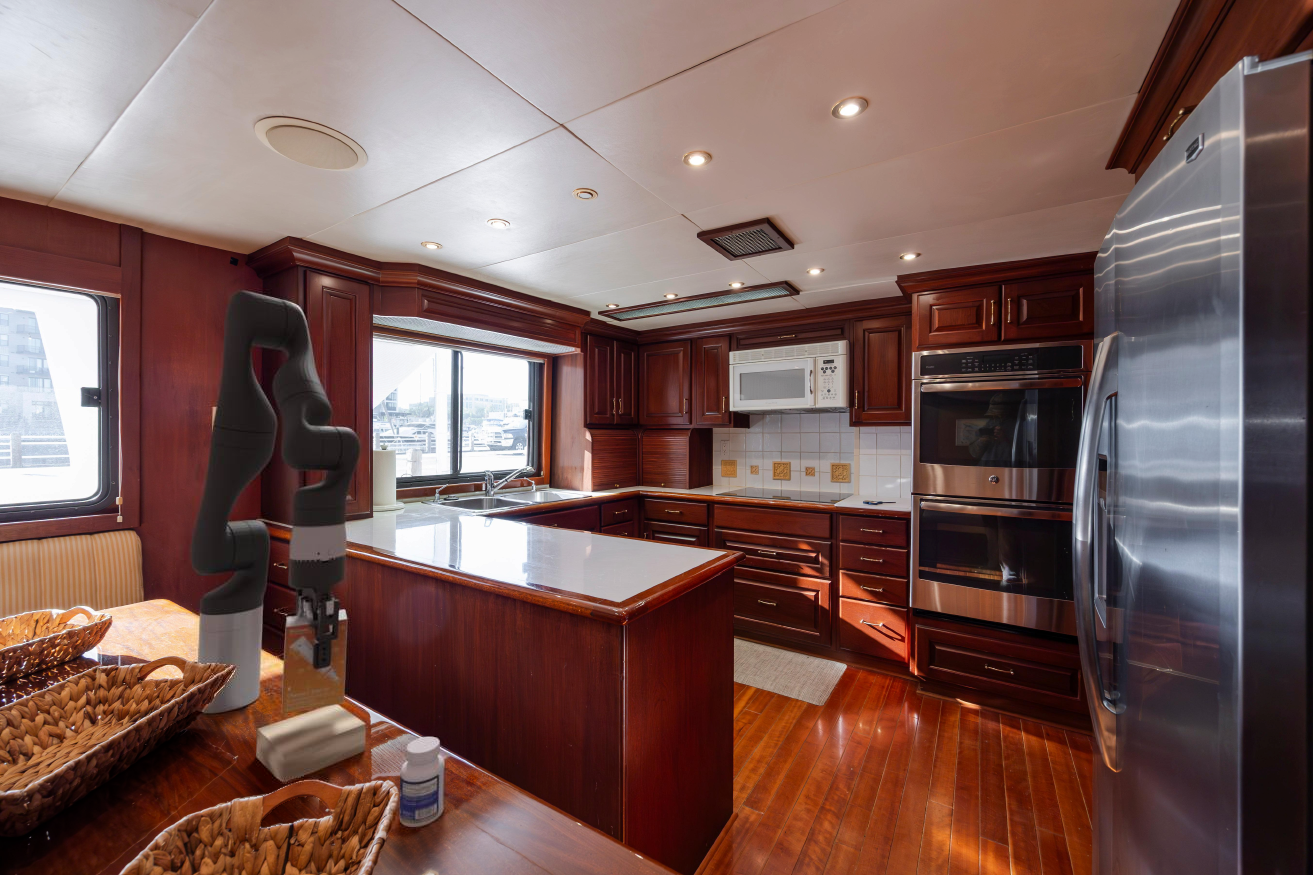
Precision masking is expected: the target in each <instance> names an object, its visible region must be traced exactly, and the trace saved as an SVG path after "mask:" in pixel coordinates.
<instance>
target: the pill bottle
mask: <svg viewBox="0 0 1313 875" xmlns="http://www.w3.org/2000/svg"><path fill="white" fill-rule="evenodd" d="M405 749H406V751H405V759H406V761H404V763H403V764H402V766H401V768H400V776H399V777H400V778H399V779H400V780H399V816H398V817H399V821H400V823H401V824H402V825H404V826H405V827H409V828H419V827H423V826H427V825H428V824H431V823H433V822H434V821H436V820H438V818H439V817H440V816H441V815H442V813H443V811H444V808H445V777H446V776H445V774H446V773H445V771H446V770H445V768H446V764H445V758H444V757H443V756H442V755H441V754H440V750H441V742H440V739H439V738H438V737H434V736H423V737H419V738H416V739H414V740H412V741H411V742H409V743H408V744H407V746H406V748H405Z"/></svg>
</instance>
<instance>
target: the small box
mask: <svg viewBox="0 0 1313 875" xmlns="http://www.w3.org/2000/svg"><path fill="white" fill-rule="evenodd" d="M285 619H286V621H285V630H284V632H285V633H284V645H283V646H284V650H283V651H284V652H283V669H282V670H283V671H282V687H281V688H282V689H281V690H282V691H281V693H282V694H281V697H282V698H281V716H286V715H290V714H294V713H299V712H303V711H308V710H316V709H319V708H322V707H326V706H331V705H336V704H338V705H342V704H344V703H345V688H346V687H345V686H346V665H347V664H346V663H347V661H346V660H347V641H348V640H347V638H348V616H347V611H346V609H339V623H338V638H337V640H333V641H332V642H331V664H330V666H328V667H325V668H321V669H315V668H314V667H313V644H314V642H313V634H312V630H310V629H309V628H308V623H307V617H306V615H304V616H300V617H299V616H296V615H291V616H286V617H285ZM315 622H318V621H315ZM324 633H328V627H327V626H325V627H324V628H323V634H324Z"/></svg>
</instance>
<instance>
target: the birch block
mask: <svg viewBox="0 0 1313 875" xmlns="http://www.w3.org/2000/svg"><path fill="white" fill-rule="evenodd" d="M366 729H367V724H366V723H365V722H364V721H363V720H361V719H359V717H357V716H355V715H354V714H353V713H351V712H349V711H348V710H346V709H345V708H344V707H342V706H341V705H340V704H336V705H331V706H326V707H320V708H315V709H312V710H311V711H308V712H304V713H301V714H299V715H295V716H292V717H290V718H287V719H283V720H281V721H277V722H275V723H270V724H268V725H264V726H262V727H259V728H257V729H256V730H257V732H256V754H255V755H256V759H258V760H259V761H260V762H261V763H262V765H263V766H265V767H266V769H267V770H268V771H269V772H270V773H271V774H273V776H274V777H275V778H276V779H277V780H278V779H279V780H280V781H282V782H285V781H286V782H287V781H288V780H290V779H294V778H296V777H300V778H302V777H305V776H307V775H309V774H312V773H314V772H317V771H319V770H321V769H325V768H327V767H329V766H332V765H334V764H336V763H338V762H341V761H344V760H346V759H348V758H351V757H353V756H355V755H358V754H361V753H363V752H365V751H366V733H367V731H366ZM306 774H307V775H306ZM304 775H305V776H304ZM301 776H302V777H301ZM279 780H278V781H279ZM280 781H279V782H280Z"/></svg>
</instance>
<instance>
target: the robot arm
mask: <svg viewBox="0 0 1313 875" xmlns="http://www.w3.org/2000/svg"><path fill="white" fill-rule="evenodd" d="M308 326H309V325H308V321H307V319H306V315H305V314H304V311H303V310H302V308H301V306H299V305H298V304H296V303H294V302H291V301H288V300H286V299H280V298H278V297H277V298H276V297H273V296H268V295H265V294H261V293H256V292H252V291H249V290H248V291H247V290H237V291H236V292H234V293H233V294H232V295H231V297H230V299H229V301H228V305H227V309H226V313H225V320H224V331H223V332H224V336H223V351H222V352H223V353H222V367H221V368H222V369H221V377H220V378H221V379H220V385H219V391H218V397H217V402H216V409H215V414H214V419H213V425H212V430H211V435H210V436H211V437H210V444H209V454H208V462H207V464H208V465H207V470H206V477H205V484H204V488H203V494H202V497H201V501H200V505H199V510H198V514H197V517H196V521H195V525H194V529H193V532H192V538H191V543H190V551H189V552H190V554H189V556H190V557H189V558H190V563H191V565H192V566H191V567H192V569H193V570H194V572H195V573H197V574H198V575H201V576H211V575H212V576H213V575H219V574H226V573H233V572H234V574H233V576H232V577H231V578H230V579H229V580H228V581H226V582H225V583H224V584H222V585H220V586H219V587H217V588H214V589H212V590H210V591H208V592H206V593H205V594H204V595H203V596H202V597H201V599H200V603H199V624H198V647H197V648H198V649H197V664H198V663H201V664H207V663H219V664H226V665H236V670H235V672H234V674H233V675H232V677H231V678H230V679H229V681H228V682H227V683H226V684H225V686H224V687H223V688H222V689H221V690H220V691H219V692H218V693H217V694H216V696H215V697H214V700H213V701H212V702H211V703H210V704H209V705H208V706H207V707H206V708H205V710H204V712H203V713H202V714H219V713H225V712H229V711H232V710H236V709H240V708H243V707H245V706H247V705H250V704H252V703H253V702H255V701H256V700H257V699H258V698H259V697H260V688H261V687H260V684H261V668H262V666H261V664H262V638H263V637H262V636H263V613H264V612H263V610H264V597H265V596H264V595H265V593H266V589H267V584H268V583H267V582H268V570H269V563H270V562H269V561H270V553H271V551H270V550H271V537H270V531H269V529H268V527H267V525H266V524H265V523H264V522H263V521H261V520H258V519H249V520H248V519H247V520H234V521H229V519H230V516H231V513H232V511H233V508H234V506H235V504H236V501H237V499H238V498H239V497H240V495H241V494H242V493H243V491H244V490H245V489H246V488H247V487H248V486H249V485H250V483H252V482H253V481H254V479H256V477H257V476H258V475H259V474H260V473H261V472H262V471H263V469H265V467H266V466H267V465H268V464H269V462H270V460H271V458H272V456H273V454H274V448H275V443H276V435H277V430H278V420H277V415H276V413H275V411H274V409H273V406H272V405H271V403H270V401H269V400H268V398H267V396H266V394H265V392H264V391H263V389H262V388H261V385H260V384H259V381H258V380H257V377H256V375H255V372H254V366H253V361H252V360H253V359H252V352H253V351H252V349H253V346H254V347H260V348H266V349H273V350H278V351H279V350H281V351H284V352H285V354H286V355H287V358H286V360H285V361H284V362H283V364H282V365H281V366H280V367H279V369H278V370H277V372H276V374H274V377H273V381H272V394H273V397H274V400H275V403H276V405H277V408H278V411H279V414H280V416H281V420H282V421H281V422H282V438H281V439H282V440H281V447H280V448H281V450H280V453H281V457H282V460H283V462H284V463H285V464H287V466H288V467H289V468H291V469H293V470H294V471H295V470H296V471H299V472H300V471H302V472H303V471H305V472H308V471H311V472H312V471H313V472H314V471H327V473H326V475H325V476H324V479H322V480H321V482H319V483H316V484H313V485H312V484H311V485H308V486H303V487H301V488H299V489H297V490H296V491H295V492H294V495H293V501H292V502H293V504H292V506H293V507H292V528H291V534H290V538H289V554H288V555H289V557H288V560H289V561H288V580H287V582H288V586H289V587H290V588H293V589H295V594H296V595H295V596H296V597H295V616H299V617H300V616H304V615H306V617H307V623H308V628H309V629H310V630H312V634H313V642H314V644H313V667H314V668H315V669H321V668H325V667H328V666H330V664H331V642H332V641H333V640H337V638H338V623H339V610H340V605H341V603H340V600H339V599H335V595H333V593H332V588H333V587H334V586H336V585H340V584H341V583H343V582H344V581H345V579H346V567H347V540H348V539H347V528H346V516H347V515H346V511H347V510H346V509H347V496H348V493H349V490H350V486H351V484H352V479H353V476H354V473H355V470H356V467H357V465H358V463H359V460H360V457H361V441H360V438H359V436H358V435H357V433H356V432H355V431H354V430H352V428H349V427H343V426H326V425H328V424H329V423H330V422H331V420H332V417H333V409H332V406H331V404H330V401H329V399H328V396H327V394H326V391H325V390H324V387H323V385H322V383H321V380H320V378H319V374H318V372H317V368H316V363H315V362H316V361H315V356H314V352H313V345H312V341H311V335H310V330H309V327H308ZM315 621H318V622H315ZM325 626H327V627H328V633H324V634H323V628H324V627H325Z"/></svg>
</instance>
